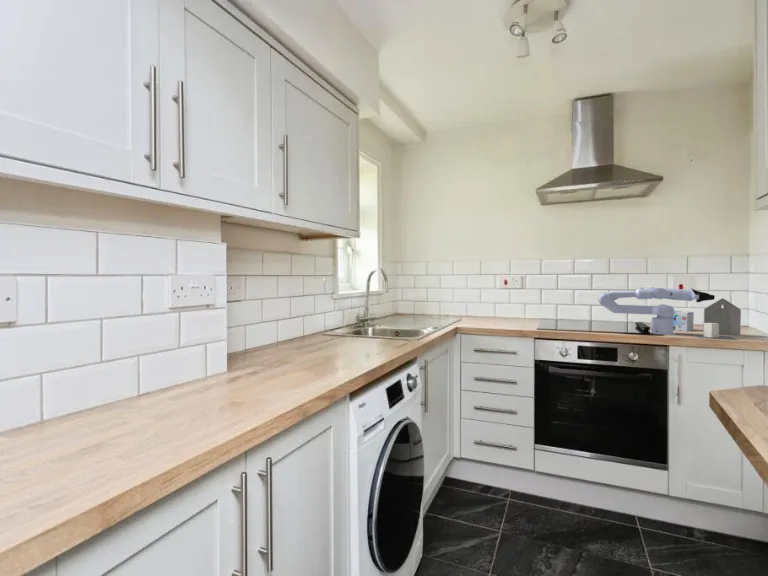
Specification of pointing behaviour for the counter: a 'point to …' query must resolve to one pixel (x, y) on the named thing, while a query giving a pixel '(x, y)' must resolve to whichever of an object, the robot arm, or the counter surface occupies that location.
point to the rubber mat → (716, 338)
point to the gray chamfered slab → (724, 317)
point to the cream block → (711, 330)
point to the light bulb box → (683, 320)
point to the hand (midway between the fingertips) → (711, 296)
